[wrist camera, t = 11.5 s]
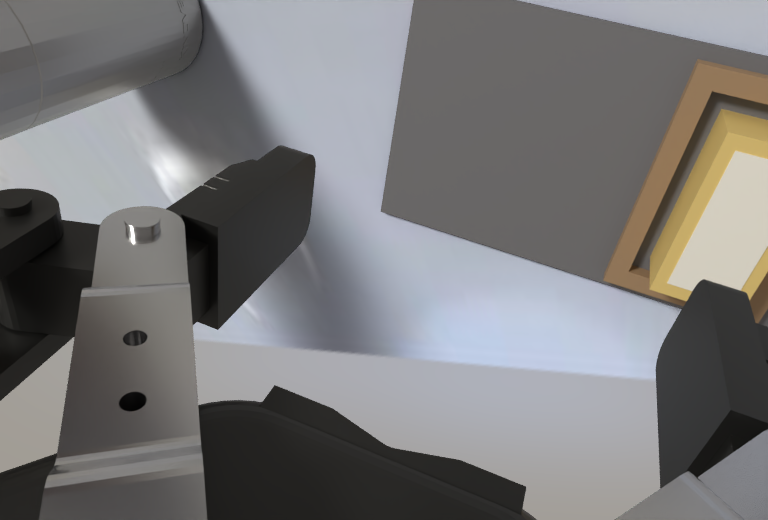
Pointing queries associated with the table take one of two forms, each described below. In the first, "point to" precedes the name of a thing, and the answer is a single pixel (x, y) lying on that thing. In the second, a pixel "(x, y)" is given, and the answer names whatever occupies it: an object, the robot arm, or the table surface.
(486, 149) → the mat
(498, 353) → the table surface
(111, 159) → the table surface
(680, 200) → the card box
